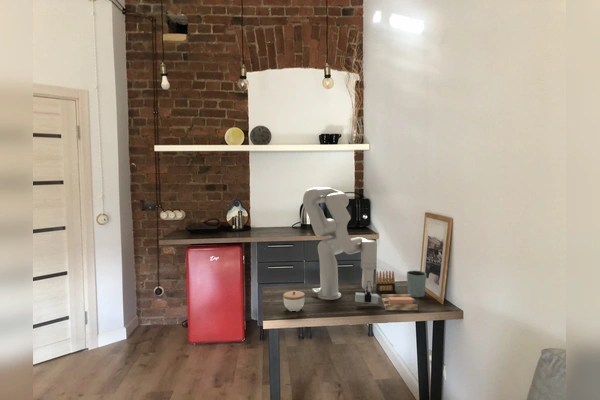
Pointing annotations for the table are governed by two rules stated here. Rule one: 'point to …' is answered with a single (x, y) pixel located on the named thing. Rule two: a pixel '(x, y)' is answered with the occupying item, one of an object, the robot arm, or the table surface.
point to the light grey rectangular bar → (361, 298)
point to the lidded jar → (294, 300)
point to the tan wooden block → (401, 300)
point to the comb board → (397, 306)
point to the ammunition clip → (385, 282)
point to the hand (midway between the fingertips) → (367, 300)
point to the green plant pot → (416, 283)
